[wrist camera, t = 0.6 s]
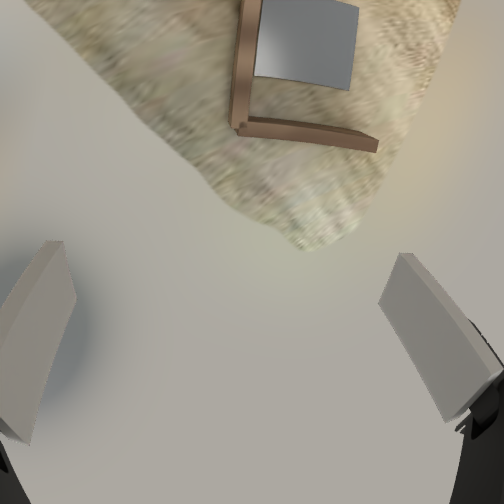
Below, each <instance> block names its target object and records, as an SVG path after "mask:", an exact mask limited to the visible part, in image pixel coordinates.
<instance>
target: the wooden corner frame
mask: <svg viewBox="0 0 504 504" xmlns="http://www.w3.org/2000/svg"><path fill="white" fill-rule="evenodd" d="M260 7H261V0H241V5H240V13H239V21H238V29H237V38H236V46H235V56H234V65H233V74H232V84H231V94H230V105H229V116H228V122H229V125H230V127H231V128H234V129H235V131H236V133H237V135H238V136H244V137H258V138H269V139H280V140H290V141H299V142H307V143H315V144H322V145H330V146H336V147H343V148H349V149H355V150H361V151H367V152H373V153H376V151H377V147H378V142H379V140H377V139H375V138H373V137H371V136H368V135H366V134H364V133H362V132H359V131H355V130H349V129H344V128H338V127H332V126H326V125H320V124H313V123H306V122H299V121H291V120H282V119H273V118H263V117H252V116H248V112H249V103H250V93H251V84H252V75H253V66H254V57H255V49H256V40H257V32H258V23H259V15H260Z"/></svg>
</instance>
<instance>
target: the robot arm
mask: <svg viewBox="0 0 504 504" xmlns="http://www.w3.org/2000/svg"><path fill="white" fill-rule="evenodd" d="M76 301H77V297H76V294H75V290H74V286H73V282H72V278H71V274H70V270H69V266H68V262H67V257H66V252H65V248H64V243H63V241H46V242H45V243H44V244H43V246H42V247H41V248H40V250H39V251H38V252H37V254H36V255H35V257H34V258H33V259H32V261H31V262H30V264H29V265H28V267H27V268H26V270H25V271H24V272H23V274H22V276H21V277H20V278H19V280H18V282H17V283H16V285H15V286H14V288H13V289H12V291H11V292H10V294H9V296H8V297H7V299H6V300H5V302H4V304H3V305H2V307H1V309H0V431H1V432H2V433H3V434H4V435H5V436H6V437H7V438H8V439H9V440H11V441H14V442H17V443H20V444H23V445H26V446H30V441H31V436H32V433H33V428H34V424H35V421H36V417H37V413H38V409H39V405H40V402H41V399H42V395H43V391H44V388H45V385H46V382H47V379H48V376H49V373H50V370H51V367H52V364H53V361H54V358H55V355H56V352H57V349H58V346H59V344H60V341H61V338H62V336H63V333H64V331H65V328H66V325H67V323H68V320H69V318H70V316H71V313H72V311H73V308H74V306H75V304H76ZM378 304H379V306H380V307H381V309H382V311H383V312H384V314H385V315H386V317H387V319H388V320H389V322H390V324H391V325H392V327H393V329H394V330H395V332H396V334H397V335H398V337H399V339H400V341H401V342H402V344H403V346H404V347H405V349H406V351H407V353H408V354H409V356H410V358H411V360H412V361H413V363H414V365H415V367H416V369H417V371H418V372H419V374H420V376H421V378H422V380H423V381H424V383H425V385H426V387H427V389H428V391H429V393H430V395H431V396H432V398H433V400H434V402H435V404H436V406H437V408H438V410H439V412H440V414H441V416H442V418H443V420H444V422H445V423H447V422H450V421H452V420H455V419H457V418H459V417H460V416H461V415H462V414H463V413H464V412H465V411H466V410H467V409H468V408H469V409H470V411H471V413H470V414H469V415H468V416H467V417H466V418H465V419H464V420H463V421H462V422H461V423H460V424H459V425H458V426H456V429H455V431H456V432H457V431H458V430H459V429H461V427H463V426H464V425H466V426H465V427H464V428H463V429H462V430H461V432H460V433H462V434H464V439H463V446H462V451H461V457H460V462H459V467H458V472H457V476H456V480H455V484H454V488H453V492H452V496H451V499H450V503H449V504H504V365H503V363H502V362H501V360H500V359H499V357H498V356H497V354H496V353H495V352H494V350H493V349H492V348H491V346H490V345H489V343H487V341H486V339H485V338H484V337H483V336H481V332H480V331H479V330H478V329H477V327H476V326H475V324H473V323H472V322H471V321H470V320H469V319H468V318H467V317H466V316H465V315H464V313H463V312H462V311H461V310H460V308H459V307H458V306H457V305H456V303H455V302H454V301H453V300H452V299H451V297H450V296H449V295H448V294H447V292H446V291H445V290H444V289H443V288H442V286H441V285H440V284H439V283H438V282H437V280H435V278H434V277H433V276H432V275H431V274H430V272H429V271H428V270H427V269H426V268H425V267H424V266H423V265H422V263H421V262H420V261H419V260H418V259H417V258H416V257H415V256H414V254H411V253H399V255H398V257H397V260H396V262H395V265H394V267H393V270H392V272H391V275H390V277H389V279H388V282H387V284H386V287H385V289H384V291H383V293H382V296H381V298H380V300H379V303H378ZM0 504H31V503H30V501H29V499H28V497H27V496H26V493H25V492H24V490H23V488H22V486H21V484H20V482H19V480H18V478H17V476H16V474H15V472H14V469H13V467H12V465H11V463H10V461H9V458H8V456H7V454H6V451H5V449H4V446H3V444H2V443H1V441H0Z"/></svg>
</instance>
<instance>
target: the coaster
mask: <svg viewBox="0 0 504 504" xmlns="http://www.w3.org/2000/svg"><path fill="white" fill-rule="evenodd" d="M358 16H359V7H356V6H352V5H349V4H346V3H342V2H339V1H335V0H262V6H261V15H260V23H259V31H258V40H257V48H256V57H255V66H254V76H263V77H272V78H280V79H287V80H294V81H300V82H306V83H312V84H318V85H323V86H328V87H333V88H338V89H343V90H347V91H349V88H350V81H351V74H352V67H353V59H354V51H355V43H356V34H357V25H358Z"/></svg>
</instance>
